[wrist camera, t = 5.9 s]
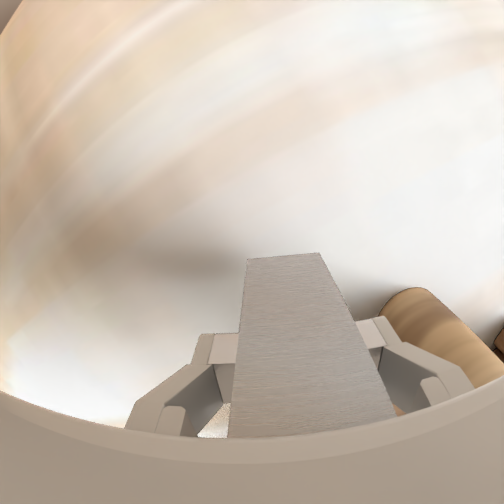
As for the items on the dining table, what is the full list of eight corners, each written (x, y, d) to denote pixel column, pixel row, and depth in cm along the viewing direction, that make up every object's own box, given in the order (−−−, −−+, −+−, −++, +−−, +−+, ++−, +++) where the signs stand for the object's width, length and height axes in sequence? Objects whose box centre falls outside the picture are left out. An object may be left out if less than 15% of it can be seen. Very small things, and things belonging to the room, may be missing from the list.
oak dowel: (378, 292, 18) (454, 393, 8) (441, 282, 17) (527, 357, 8) (370, 356, 19) (418, 459, 10) (429, 343, 19) (489, 426, 10)
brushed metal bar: (247, 259, 13) (221, 488, 3) (318, 252, 12) (414, 461, 3) (254, 319, 14) (246, 525, 4) (319, 313, 14) (373, 510, 4)
